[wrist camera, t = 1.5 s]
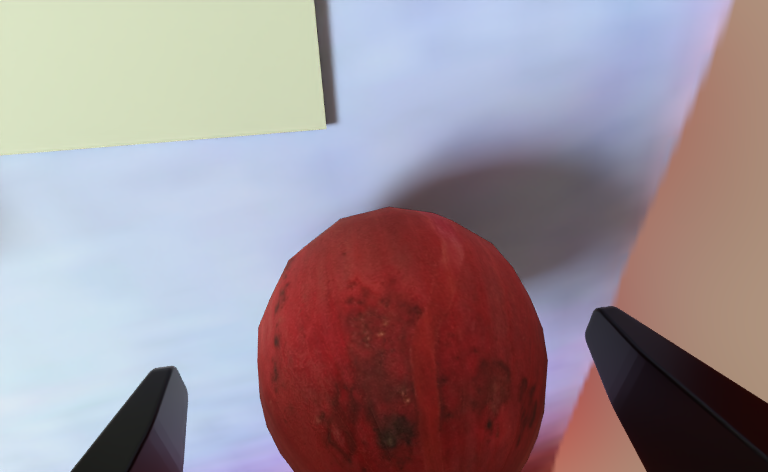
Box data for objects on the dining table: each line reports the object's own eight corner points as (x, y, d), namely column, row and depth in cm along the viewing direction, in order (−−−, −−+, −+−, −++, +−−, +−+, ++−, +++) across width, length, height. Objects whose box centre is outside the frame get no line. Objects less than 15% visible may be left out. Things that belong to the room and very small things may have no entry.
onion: (227, 182, 11) (138, 606, 4) (465, 115, 11) (711, 453, 4) (306, 334, 14) (319, 684, 8) (484, 286, 14) (633, 601, 8)
